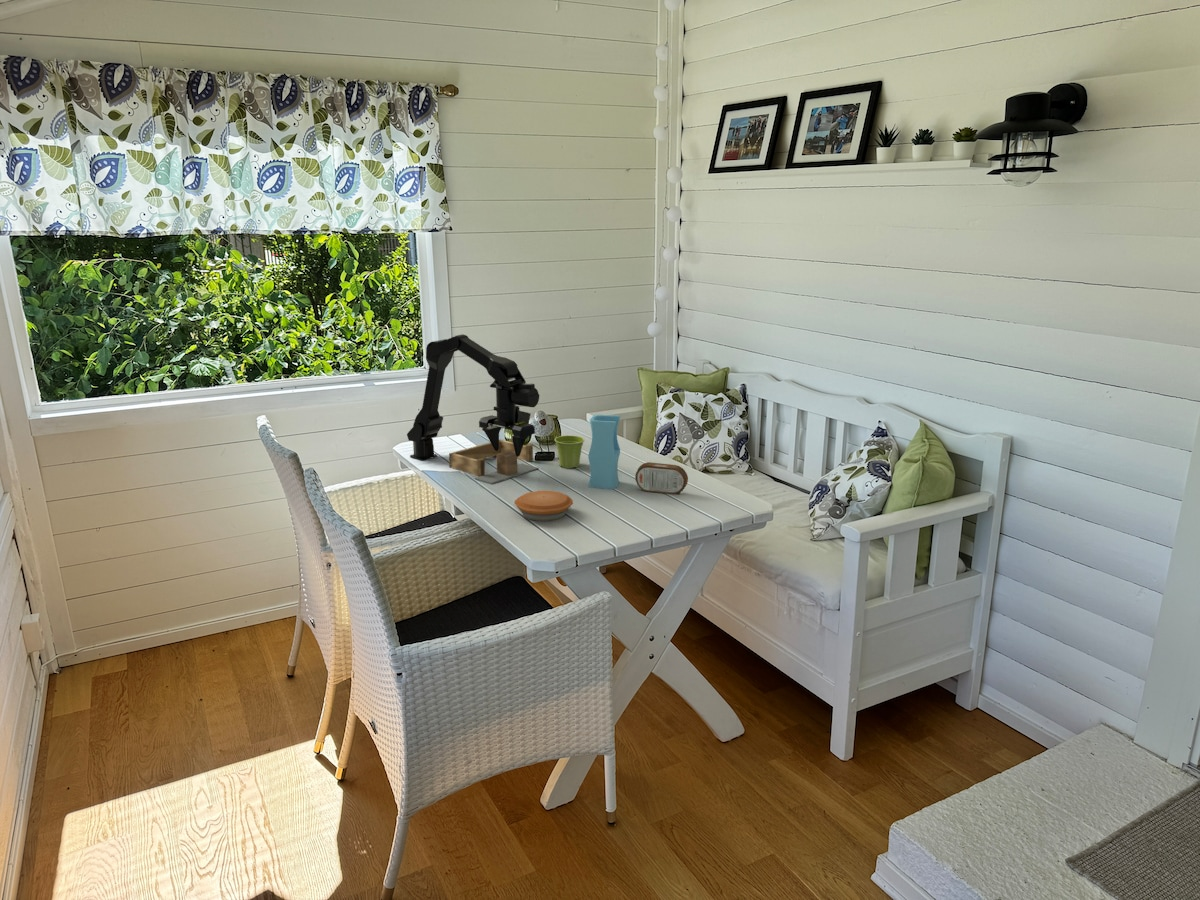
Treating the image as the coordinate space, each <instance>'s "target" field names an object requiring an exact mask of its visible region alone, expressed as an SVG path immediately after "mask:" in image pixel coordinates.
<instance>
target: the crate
mask: <svg viewBox="0 0 1200 900" xmlns="http://www.w3.org/2000/svg"><path fill="white" fill-rule="evenodd" d="M533 446H534V445H533V444H527V445H526V444H525V445H523V448H522V451H521V454H520V456H518V457H517V460H522V461H525V462H528V463H530V462H533V461H534V455H533V454H534V451H533V449H534V448H533ZM505 451H509V452H513V453H515V449H514V445H513V441H508V440H504V439H499V450H498V451H495V450H494V448H493V446H492V444H491V442H490V441H489V442H486V443H483V444H480V445H475V446H472V447H468V448H463V449H461V450H457V451H453V452H450V453H449V454H448V461H449V464H448V465H449V468H450V469H454V470H457V471H460V472H465V473H467V474H471V475H474V476H476V477H480V476H483V475H486V466H485V465H486V464H485V459H488V458H491V457H492V458H493V457H497V454H498V453H502V452H505Z"/></svg>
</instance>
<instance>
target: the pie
mask: <svg viewBox="0 0 1200 900" xmlns="http://www.w3.org/2000/svg"><path fill="white" fill-rule="evenodd" d="M573 504H574V501H573V499H572V497H571V496H569V495H567V494H564V493H562V492H560V491H554V490H536V491H535V490H534V491H530V492H526V493H524V494H522V495H520V496H519V497H517V498H516V499H514V505H515V506H516V507H517V508H518V510H519V511H520V512H521V514H522V515H523V517H524V518H526V519H528V520H531V521H536V522H549V521H550V522H551V521H556V520H560V519H562V518H564V516H565V515H566V514H567V512H568V511H569V510H570V509H569V508H571V507H572V505H573Z"/></svg>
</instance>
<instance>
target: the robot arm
mask: <svg viewBox="0 0 1200 900" xmlns="http://www.w3.org/2000/svg"><path fill="white" fill-rule="evenodd" d="M458 351H459V352H461V353H462V354H463V355H464V356H467V357H469V359H471V360H473V361H474V362H476V363H477V364H479V365H480V366H482V367H484V368H485V370H486V371H487V374H488V375H489V376H490V377H491V378H492V379H493V382H492V383H491V384H490V385H489V388H494V389H495V396H496V397H495V399H496V403H495V404H496V406H493V411H496V415H487V416H483V417H481V418H480V419H479V421H478V425H479V426H478V428H481V430H482V431H483V432H484V434H485V436H486V438H488V440H489V442H491V444H492V446H493V448H494V450H495V451H498V450H499V440H500V432H501V430H502V429H505V430H509V431H511V433H512V436H511V439H512V443H513V445H514V449H515V453H516V456H517V457H518V456H520V454H521V451H522V448H523V445H524V444H525V442H526V440H527V439H528V438H529V437H531V436H532V435H535V434H536V427H535V426H534V425H533V424H532V423H530V419H531V414H532V413H531V412H526V411H521V410H520V406H521V407H526V408H527V407H528V408H535V407H536V406H537V405H538V403H539V402H540V401H539V400H540V394H539V390H538V389H537V388H536V387H535V386H536V385H535V383H526V380H525V377H524V376H523V374H522V373H521V371H520V370H519V367H518V363H516V362H515V361H514V360H512V359H509V358H507V357H505V356H504V357H503V356H499V355H496V354H494V353H493V352H491V351H490V350H488V349H486V348H485V347H483V346H481V345H480V344H479V343H478V342H475V341H474V340H473V339H470V338H469V336H468V335H467V334H457V335H454V336H452V337H449V338H447V339H446V338H444V339H440V340H433V341H431V342H429V343H428V344H426V348H425V361H426V362H427V365H428V372H427V378H426V383H425V389H424V394H423V401H422V405H421V406H422V407H421V409H420V410H419V412H418V413H417V415H416V416H415V419H414V422H413V426H412V428H410V430H409V431H408V432H407V434H406V436H407V439H408V441H410V442H412V447H413V454H410V455H409V458H413V459H416V460H419V461H425V460H429V459H433V458H437V457H438V454H435V447H434V438H437V437H438V435H439V432H440V430H441V429H442V428H443V420H444V416H442V415H440V413H439V406H440V400H441V399H440V398H441V394H442V389H443V383H444V377H445V372H446V368H447V367H448V366H449V364H450V363H451V362H452V360H453V356H454V354H455V352H458ZM524 446H525V445H524Z"/></svg>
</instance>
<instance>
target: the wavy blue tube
mask: <svg viewBox="0 0 1200 900" xmlns="http://www.w3.org/2000/svg"><path fill="white" fill-rule="evenodd" d="M620 418H621V415H611V414H593V415H592V417H590V419H589V424H590V429H591V444H590V448H589V452H588V455H587V457H588V458H587V459H588V462H589V467H590V478H589V483H588V488H592V489H593V488H594V489H595V488H597V489H607V490H610V489H612V490H613V489H616V488H617V486H618V485H619V482H620V481H619V473H618V472H619V471H618V466H619V458H620V456H621V455H620V453H621V448H620V444H619V442H618V427H619V422H620Z"/></svg>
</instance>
